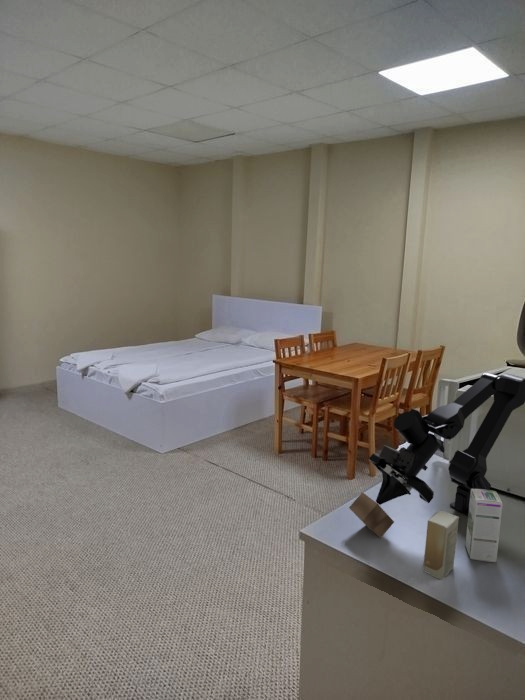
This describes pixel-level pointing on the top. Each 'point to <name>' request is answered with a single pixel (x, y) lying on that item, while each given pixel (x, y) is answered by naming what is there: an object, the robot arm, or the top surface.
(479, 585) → the top surface
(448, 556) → the skincare box
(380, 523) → the walnut block
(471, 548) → the syrup box
